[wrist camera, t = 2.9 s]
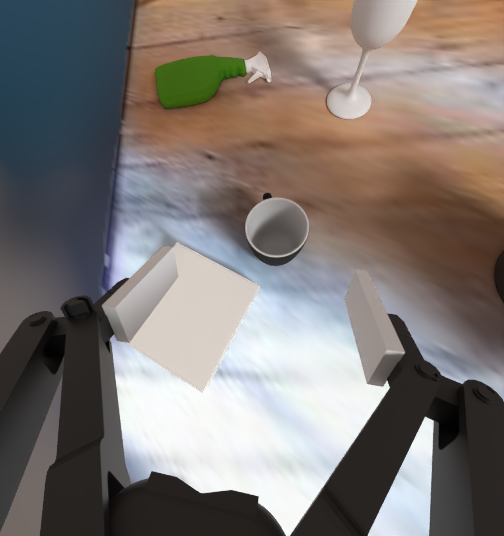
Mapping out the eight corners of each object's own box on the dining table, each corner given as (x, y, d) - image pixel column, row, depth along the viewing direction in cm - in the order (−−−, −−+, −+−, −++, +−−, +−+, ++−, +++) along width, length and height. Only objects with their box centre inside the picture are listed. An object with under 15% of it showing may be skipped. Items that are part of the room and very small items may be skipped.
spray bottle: (159, 76, 53) (263, 53, 52) (163, 115, 50) (273, 91, 50) (152, 62, 50) (263, 37, 49) (157, 103, 48) (273, 77, 47)
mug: (305, 266, 40) (316, 249, 31) (256, 276, 41) (251, 263, 31) (290, 205, 43) (295, 172, 33) (243, 215, 43) (235, 185, 34)
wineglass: (364, 80, 47) (435, -100, 27) (375, 115, 45) (460, -50, 25) (322, 89, 48) (360, -82, 27) (331, 123, 46) (379, -32, 25)
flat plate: (185, 248, 43) (176, 241, 39) (260, 288, 40) (259, 285, 36) (132, 335, 40) (117, 338, 37) (209, 384, 38) (201, 392, 34)
